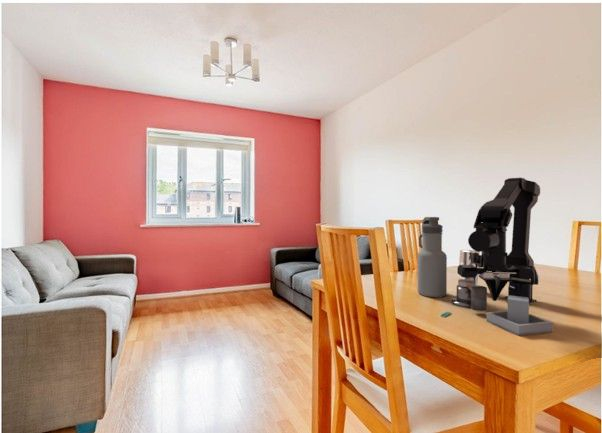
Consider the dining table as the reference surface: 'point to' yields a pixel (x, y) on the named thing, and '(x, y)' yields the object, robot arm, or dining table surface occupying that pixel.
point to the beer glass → (468, 261)
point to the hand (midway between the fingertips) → (494, 300)
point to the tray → (533, 327)
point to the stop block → (518, 309)
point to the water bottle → (432, 260)
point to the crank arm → (475, 294)
